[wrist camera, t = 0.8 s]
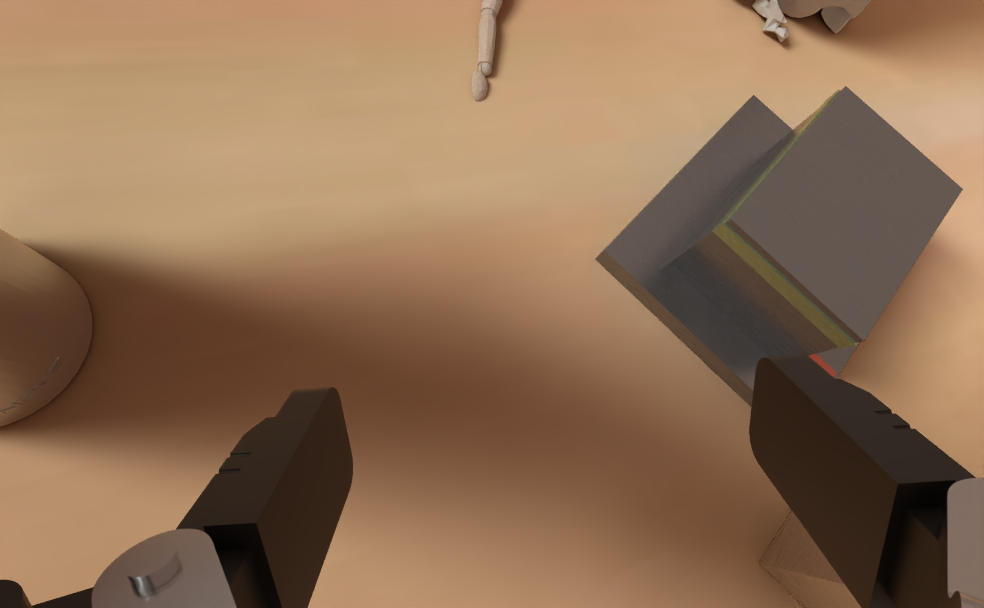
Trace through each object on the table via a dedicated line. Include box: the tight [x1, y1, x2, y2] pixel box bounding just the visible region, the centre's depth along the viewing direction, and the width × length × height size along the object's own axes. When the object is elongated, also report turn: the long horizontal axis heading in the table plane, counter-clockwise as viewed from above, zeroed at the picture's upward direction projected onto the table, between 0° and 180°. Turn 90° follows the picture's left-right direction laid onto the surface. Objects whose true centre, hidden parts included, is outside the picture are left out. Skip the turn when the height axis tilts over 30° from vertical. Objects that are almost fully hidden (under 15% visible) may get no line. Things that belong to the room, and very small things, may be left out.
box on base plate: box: [596, 86, 963, 407], centre depth 34 cm, size 16×18×8 cm
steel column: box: [759, 510, 861, 608], centre depth 25 cm, size 5×5×14 cm
